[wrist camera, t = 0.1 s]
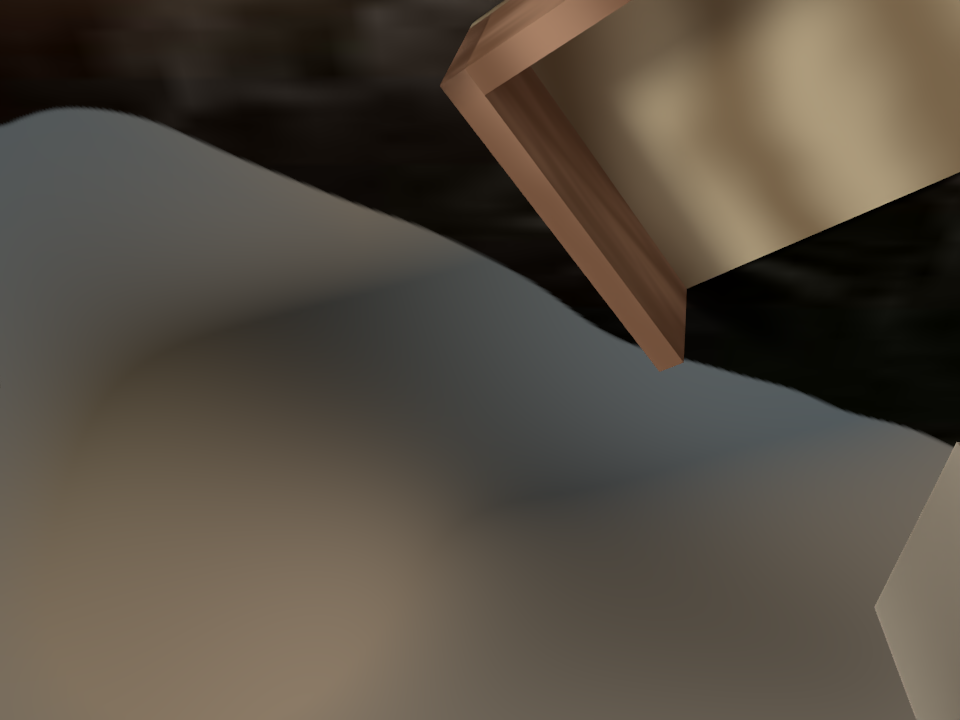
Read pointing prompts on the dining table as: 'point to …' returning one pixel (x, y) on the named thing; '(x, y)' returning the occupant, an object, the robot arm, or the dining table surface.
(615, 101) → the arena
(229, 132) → the dining table surface
